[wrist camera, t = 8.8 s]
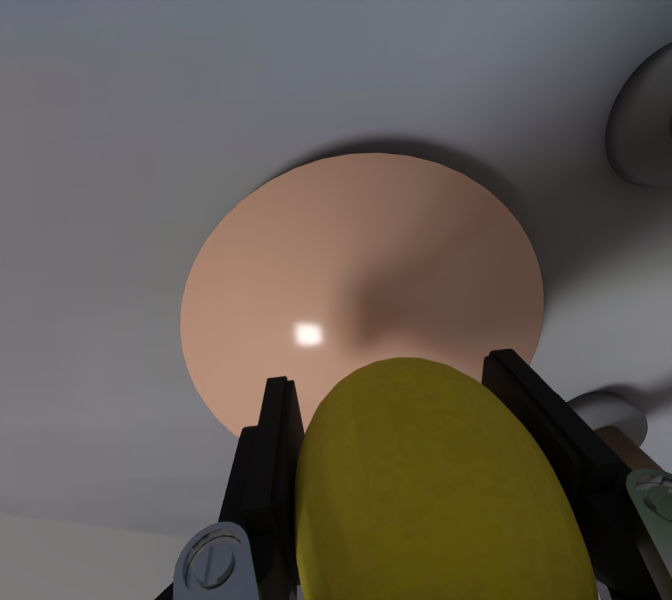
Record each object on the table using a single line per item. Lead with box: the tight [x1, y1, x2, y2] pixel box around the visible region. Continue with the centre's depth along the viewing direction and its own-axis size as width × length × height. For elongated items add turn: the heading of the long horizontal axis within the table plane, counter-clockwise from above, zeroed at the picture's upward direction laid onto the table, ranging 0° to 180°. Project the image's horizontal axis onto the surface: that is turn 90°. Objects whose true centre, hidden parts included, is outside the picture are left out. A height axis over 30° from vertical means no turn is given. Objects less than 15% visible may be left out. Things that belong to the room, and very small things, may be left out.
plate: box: [180, 152, 544, 438], centre depth 14 cm, size 14×14×1 cm
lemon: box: [293, 357, 599, 600], centre depth 8 cm, size 6×6×8 cm
